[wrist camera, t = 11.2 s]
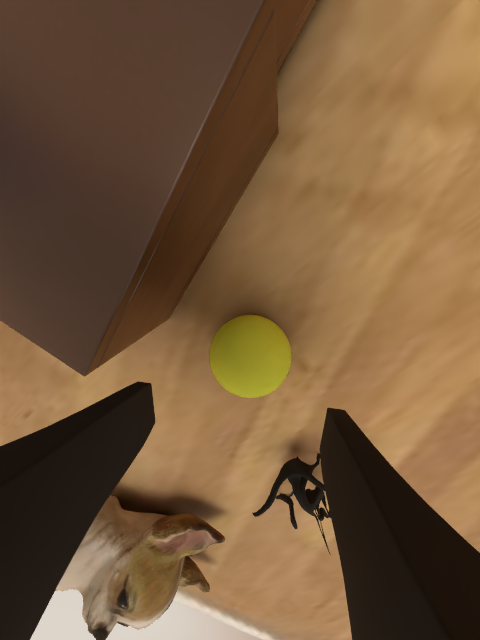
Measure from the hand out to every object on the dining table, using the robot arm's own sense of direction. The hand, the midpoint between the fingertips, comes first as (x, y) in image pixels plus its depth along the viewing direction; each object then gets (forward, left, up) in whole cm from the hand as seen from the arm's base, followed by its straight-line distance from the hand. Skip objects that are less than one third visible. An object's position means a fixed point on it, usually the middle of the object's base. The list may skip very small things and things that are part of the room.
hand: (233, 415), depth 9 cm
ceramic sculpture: (+4, -24, -8) cm, 26 cm away
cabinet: (-12, +4, -8) cm, 15 cm away
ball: (0, 0, -8) cm, 8 cm away
